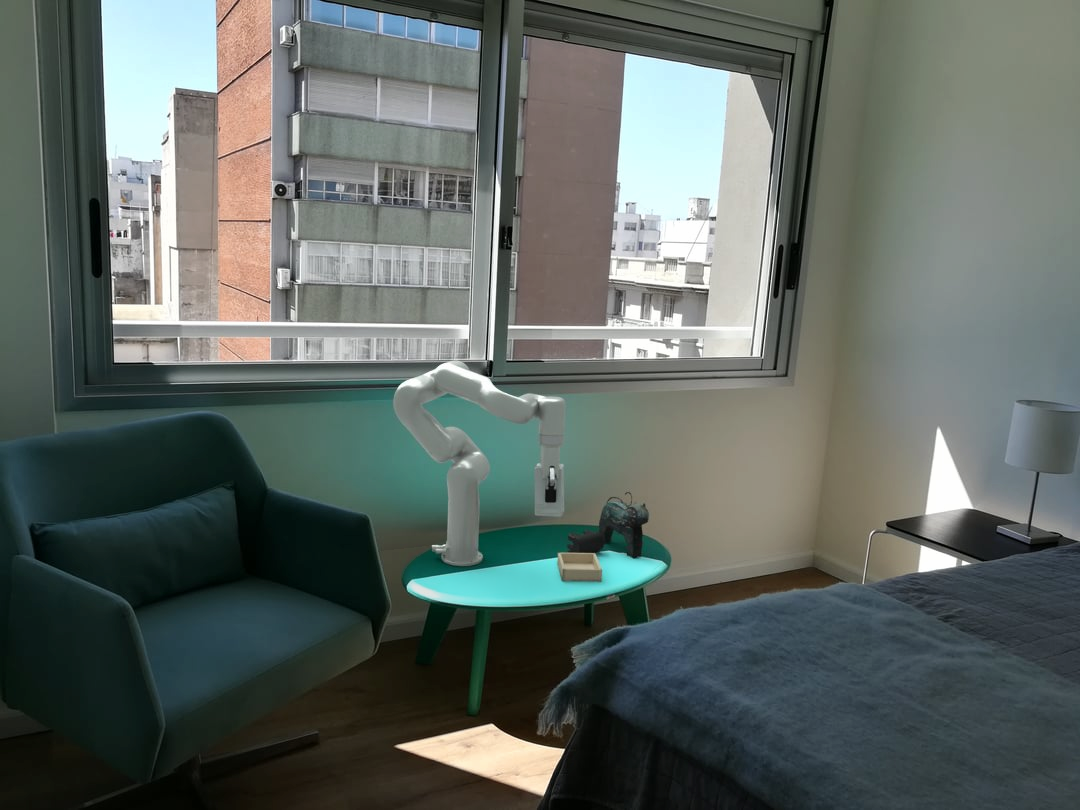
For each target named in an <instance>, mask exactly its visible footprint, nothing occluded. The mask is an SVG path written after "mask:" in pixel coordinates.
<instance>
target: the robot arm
mask: <svg viewBox="0 0 1080 810" xmlns="http://www.w3.org/2000/svg"><path fill="white" fill-rule="evenodd" d="M447 394H450V395H452V396H455V397H457V398H460V399H463V400H465V401H467V402H471V403H473V404H476V405H478V406H479V407H480V408H481V409H483V410H485V411H486V412H487V413H489V414H490V415H493V416H495V417H497V418H500V419H502V420H505V421H507V422H510V423H514V424H517V425H525V424H527V423H529V422H530V421H532V420H536V419H538V442H537V444H538V445H539V446H540V447H541V448H540V465H541V478H542V479H543V480H544V479H546V489H545V502H546V503H555V502H556V480H557V479H558V477H559V464H561V462H560V461H561V447H564V446H565V432H566V431H565V429H566V427H565V426H566V425H565V424H566V405H567V404H566V401H565V399H564V398H563V397H560V396H550V395H549V396H544V395H540V394H536V393H528V392H527V393H524V394H523V395H520V396H519V397H517V396H515V395H511V394H508V393H506V392H504V391H502V390H500V389H499V388H497V387H496V386H495V385H494V383H492V381H491V378H489V376H485V375H483V374H480V373H476V372H474V371H471V370H470V367H468V365H467V364H465V362H463V361H461V360H455V359H454V360H450V361H446V362H444V363H441V364H439V366H437V367H436V368H434V369H432V370H430V371H428V372H426V373H424V374H421V375H418V376H415V377H412V378H410V379H406V380H405V381H403V382H402V383H400V385H398V387H397V389H396V390H395V392H394V395H393V401H392V403H393V405H392V406H393V410H394V413H395V415H396V417H397V418H398V420H399V422H401V424H402V425H403V426H404V427H405V428H406V430H407V431H409V433H410V434H411V435H412V436H413V437H414V439H415V440H416V441H417V442H418V443H419V445H420V446H421V447H422V448H423V449H424V451H425V452H426V453H427V454H428V455H429V456H430V458H431V459H432V460H433V461H435V462H437V463H438V464H444V463H447V462H450V461H451V462H452V463H453V464H452V465H451V466H450V467H449V469H448V471H447V474H446V486H447V497H448V498H447V502H448V503H447V531H446V533H447V534H446V535H447V536H446V539H447V540H446V541H445V543H444V544H442V545H440V544H439V545H438V544H432V545H431V551H432V552H435V554H441V560H442V562H443V563H445V564H447V565H451V566H453V567H454V566H455V567H456V566H457V567H471V566H474V565H475V566H476V565H478V564H480V563H481V562H482V561H483V559H484V557H483V554H482V552H480V551H479V533H480V532H479V531H480V506H481V503H480V494H479V492H480V491H479V485H480V484H481V483H483V481H484V480H486V479H487V478H488V476H489V474H490V471H491V466H490V462H489V460H488V458H487V457H486V455H485V454H484V453H483V452H482V450H481V449H480V448H479V447H478V446H477V445H476V443H475V442H474V441H473V439H471V438H470V436H468V435H467V433H466V432H465V431H464V430H462V429H461V428H459V427H457V426H446V427H444V426H443V425H442V424H441V423H440V422H439V421H438V420H437V419H436V417H435V416H434V415H433V414H431V413H430V412H429V411H428V410H426V409H425V408H424V407H423V405H424V404H427V403H429V402H431V401H434V400H436V399H439V398H441V397H442V396H443V397H444V396H445V395H447ZM549 468H550V471H549ZM554 475H555V477H554ZM556 476H557V477H556ZM548 477H550V479H549V478H548ZM548 481H550V482H549V483H548Z"/></svg>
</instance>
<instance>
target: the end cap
mask: <svg viewBox="0 0 1080 810" xmlns="http://www.w3.org/2000/svg"><path fill="white" fill-rule="evenodd" d="M582 533H583V534H579V533H577V532H573V533H568V534H567V541H569V542H570V543H569V542H568V543H566V547H567V549H569V550H567V553H595V554H596V553H599V552H601V551H602V550H603V549H604V547H605V544H604V538H603V536H602V534H601V533H600V532H599V531H596V532H594V531H591V530H589V529H588V530H583V531H582ZM571 543H572V544H571Z"/></svg>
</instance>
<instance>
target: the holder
mask: <svg viewBox="0 0 1080 810" xmlns="http://www.w3.org/2000/svg"><path fill="white" fill-rule="evenodd" d="M556 563H557V567H558V568H557V569H558V572H559V575H560V578H561V581H562V582H591V583H592V582H596V583H598V582H599V583H600V582H602V577H603V569H602V567H601V563H600V561H599V559H598V557H597V554H596V552H595V553H568V552H557V561H556Z"/></svg>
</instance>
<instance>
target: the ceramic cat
mask: <svg viewBox="0 0 1080 810" xmlns="http://www.w3.org/2000/svg"><path fill="white" fill-rule="evenodd" d="M627 494H629V495H630V499H631V500H630V504H628V503H626V502H624V500H623V499H621V498H620V497H617V496H611V497H609V498H608V499H607V501H606V503H605V504H604V506H603V507H602V510H601V513H600V518H599V523H598V532H600V533H601V534H602V536H603V538H604V545H607V544H606V543H608V544H610V543H611V540H612V537H613V533H614V531H615V533H618V534H620V535H622V536H623V538H624V540H625V543H626V556H628V557H630V558H632V559H638V558H641V557H642V552H643V551H642V549H643V545H644V544H643V543H644V542H643V535H644V533H643V525H645V524H648V522H649V519H650V518H649V517H650V513H649V512H650V511H649V510H648V509H647V507H646V503H645V502H644V503H641V504H638V503H637V501H636V500H635V501H634V502H633V496H632V495H633V494H632V493H631V492H630V491H627V492H625V493H624V496H626V495H627ZM612 499H617V500H619V501H617V500H616V501H615V500H614V501H611V500H612ZM632 503H633V504H632Z"/></svg>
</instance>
